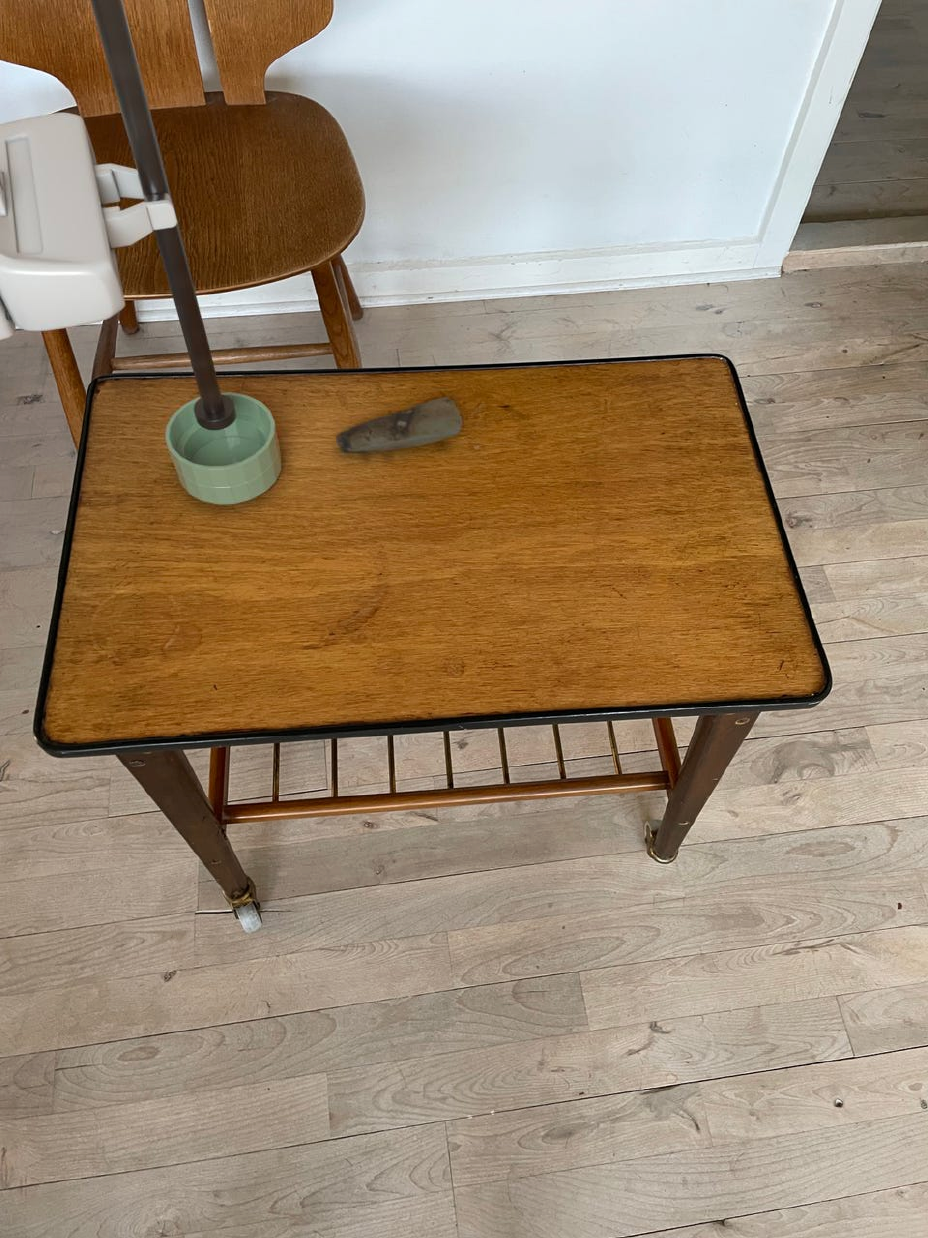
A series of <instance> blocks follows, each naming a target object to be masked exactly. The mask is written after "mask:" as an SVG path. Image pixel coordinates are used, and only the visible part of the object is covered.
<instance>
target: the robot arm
mask: <svg viewBox="0 0 928 1238" xmlns="http://www.w3.org/2000/svg"><path fill="white" fill-rule="evenodd" d="M171 197H172V196H171ZM171 197H170V196H169V194H167V193H159V194H157V195H156V194H149V195H144V193H143V189H142V185H141V182H140V178H139V175H138V171H137V168H132V167H129V166H124V165H120V164H116V163H112V162H111V163H102V164H101V163H100V164H98V162H97V158H96V154H95V151H94V147H93V144H92V140H91V137H90V135H89V132H88V129H87V125H86V123H85V120H84V118H83V117H82V116H80V115H78V114H74V113H69V112H55V113H47V114H41V115H36V116H32V117H31V116H30V117H26V118H21V119H16V120H11V121H7V122H3V123H0V341H1V340H6V339H9V338H11V337H14V335H15V333H16V330H17V329H16V328H17V327H18V328H19V329H20V330H24V331H28V332H47V331H55V330H62V329H67V328H74V327H79V326H84V325H91V324H94V323H95V324H96V323H100V322H103V321H106V320H109V319H111V318H113V317H114V316H115V315H117V314H118V313H120V312H121V311H122V310H123V309H124V308H125V307H126V300H125V295H124V290H123V285H122V281H121V276H120V270H119V265H118V260H117V256H116V251H115V249H116V248H121V247H128V246H132V245H134V244H135V243H137V242H138V241H140V240H142V239H143V238H145V237H147V236H148V235H150V234H152V233H154V230H160V229H166V228H173V227H174V226H176V224H177V221H178V218H177V219H176V217H177V214H176V215H175V213H176V210H175V211H174V209H175V206H174V207H173V205H174V202H173V203H172V201H173V199H172V200H171ZM121 198H127V199H137V200H144V201H142V202H139V203H136V204H135V205H132V206H128V207H127V208H124V209H121V207H120V206H118V205H116V206H109V207H106V205H107V204H114V203H119V202H121Z"/></svg>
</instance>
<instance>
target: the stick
mask: <svg viewBox="0 0 928 1238" xmlns="http://www.w3.org/2000/svg"><path fill="white" fill-rule="evenodd" d="M89 2H90V6H91V9H92V13H93V18H94V20H95V24H96V28H97V31H98V35H99V38H100V42H101V45H102V49H103V53H104V56H105V59H106V60H105V61H106V63H107V66H108V67H107V68H108V71H109V74H110V77H111V80H112V84H113V88H114V93H115V96H116V100H117V102H118V103H117V104H118V106H119V110H120V114H121V117H122V121H123V124H124V128H125V132H126V135H127V138H128V142H129V146H130V149H131V153H132V156H133V160H134V164H135V168H136V169H137V171H138V175H139V178H140V182H141V185H142V189H143V193H144V195H149V194H156V195H157V194H159V193H167V194H169V196H170V197H171V200H172V203H173V207H174V211H175V215H176V219H177V224H176V226H174V227H173V228H166V229H160V230H153V233H154V236H155V239H156V242H157V246H158V250H159V252H160V257H161V261H162V265H163V267H164V271H165V275H166V278H167V282H168V286H169V289H170V292H171V296H172V300H173V304H174V307H175V311H176V314H177V317H178V322H179V325H180V328H181V333H182V336H183V339H184V342H185V346H186V347H185V348H186V350H187V353H188V357H189V361H190V364H191V368H192V372H193V375H194V379H195V382H196V386H197V389H198V393H199V397H201V398H200V399H199V400H198V401H197V402H196V403H195V406H194V413H195V417H196V420H197V422H198V424H199V425H200V426H201V427H203V428H205V429H207V430H222V429H225V428H227V427H229V426H230V425H231V424H232V423H233V422H234V421H235V419H236V411H235V406H234V403H233V401H232V400H231V399H230V398H229V397H228V396H226V395H223V394H221V393H222V392H221V388H220V384H219V380H218V375H217V371H216V369H215V364H214V361H213V356H212V354H211V349H210V345H209V340H208V337H207V333H206V330H205V324H204V320H203V317H202V312H201V309H200V305H199V300H198V296H197V292H196V289H195V284H194V281H193V277H192V272H191V269H190V264H189V260H188V257H187V252H186V249H185V245H184V241H183V238H182V233H181V229H180V225H179V221H178V217H177V213H176V209H175V205H174V202H173V198H172V193H171V189H170V186H169V181H168V177H167V173H166V169H165V166H164V162H163V158H162V154H161V149H160V146H159V141H158V137H157V134H156V130H155V126H154V122H153V118H152V114H151V110H150V105H149V101H148V97H147V94H146V90H145V86H144V83H143V78H142V73H141V70H140V65H139V62H138V59H137V54H136V50H135V47H134V46H135V45H134V43H133V39H132V38H133V37H132V35H131V30H130V27H129V23H128V19H127V18H128V17H127V15H126V10H125V5H124V3H123V0H89Z"/></svg>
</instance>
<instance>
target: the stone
mask: <svg viewBox="0 0 928 1238" xmlns="http://www.w3.org/2000/svg"><path fill="white" fill-rule="evenodd" d="M462 427H463V417H462V416H461V414H460V410H459V409H458V408H457V407H456V402H455V401H454V400H453V399H451V398H449V397H441V398H436V399H432V400H430V401H425V402H422V403H418V404H416V405H414V406H412V407H410V408H408V409H405V410H401V411H396V412H393V413H391V414H387V415H383V416H378V417H375V418H373V419H370V420H368V421H364V422H362V423H360V424H356V425H354V426H352V427H349V428H347V429H346V430H344V431H342V432H341V433H339V434H338V435H336V437H335V439H336V444H337V445H338V447H339V449H340V451H341V452H343V453H346V454H366V453H377V452H385V451H395V450H402V449H410V448H415V447H421V446H425V445H428V444H433V443H436V442H440V441H443V440H446V439H449V438H452V437H454V436H456V435H458V434H459V433H460V432H461V430H462Z"/></svg>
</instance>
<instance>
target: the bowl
mask: <svg viewBox="0 0 928 1238" xmlns="http://www.w3.org/2000/svg"><path fill="white" fill-rule="evenodd" d="M221 394H223V395H226V396H228V397H229V398H230V399H231V400H232V401H233V403H234V406H235V411H236V419H235V421H234V422H233V423H232V424H231V425H230V426H229V427H227V428H225V429H222V430H207V429H205V428H203V427H201V426H200V425H199V424H198V422H197V420H196V417H195V413H194V406H195V403H196V402H197V401H198V400H199V399H200V398H201V397H200V396H198V397H196V398H194V399H191V400H190V401H188V402H186V403H184V404H182V405H181V406H180V407H179V408H178V409H177V410H176V411H175V412H174V413H173V414H172V415H171V417H170V419H169V421H168V422H167V424H166V428H165V434H164V439H165V442H166V445H167V449H168V451H169V454H170V457H171V460H172V463H173V465H174V469H175V471H176V475H177V476H178V480H179V484H180V485H181V486H182V488H184V490H185V491H186V492H187V493H188V494H189V495H190V496H192V497H194V498H196V499H198V500H199V501H201V502H204V503H208V504H214V505H222V506H223V505H236V504H240V503H243V502H248V501H251V500H253V499H255V498H258V497H259V496H261V495H262V494H264V493H265V492H267V491H268V490H269V489H270V488H271V487H272V486H273V485H274V484H275V483H276V481H277V479H278V477H279V475H280V474H281V471H282V459H283V458H282V452H281V447H280V441H279V437H278V432H277V426H276V421H275V418H274V417H273V414H272V412H271V410H270V409H268V407H267V406H266V405H265V404H264V403H262V401H261V400H258V399H256V398H254V397H252V396H250V395H247V394H244V393H243V394H242V393H237V392H233V391H232V392H231V391H230V392H229V391H227V392H225V391H224V392H221Z"/></svg>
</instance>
